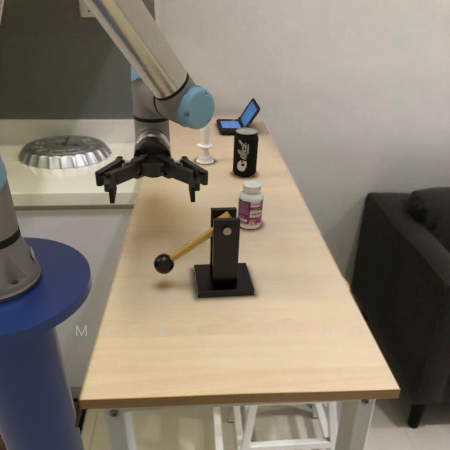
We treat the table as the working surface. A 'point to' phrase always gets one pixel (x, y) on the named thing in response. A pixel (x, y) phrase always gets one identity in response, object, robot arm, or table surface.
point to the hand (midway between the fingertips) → (152, 195)
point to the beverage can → (245, 152)
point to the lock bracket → (223, 260)
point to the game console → (239, 119)
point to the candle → (205, 146)
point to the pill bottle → (250, 205)
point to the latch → (182, 250)
